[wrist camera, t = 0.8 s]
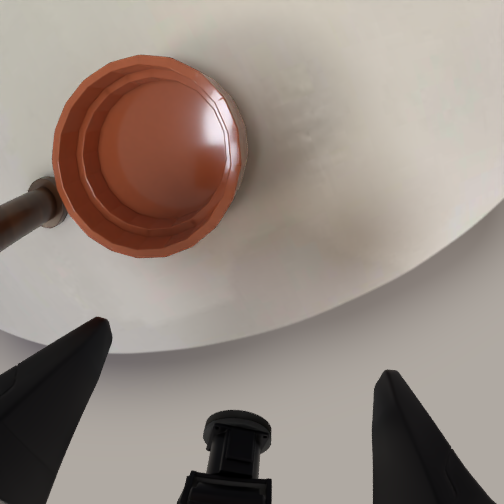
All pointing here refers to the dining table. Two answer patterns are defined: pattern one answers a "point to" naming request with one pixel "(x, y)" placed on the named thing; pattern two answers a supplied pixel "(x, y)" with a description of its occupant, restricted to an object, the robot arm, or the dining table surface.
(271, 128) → the dining table surface
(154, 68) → the bowl
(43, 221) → the brown cylinder
